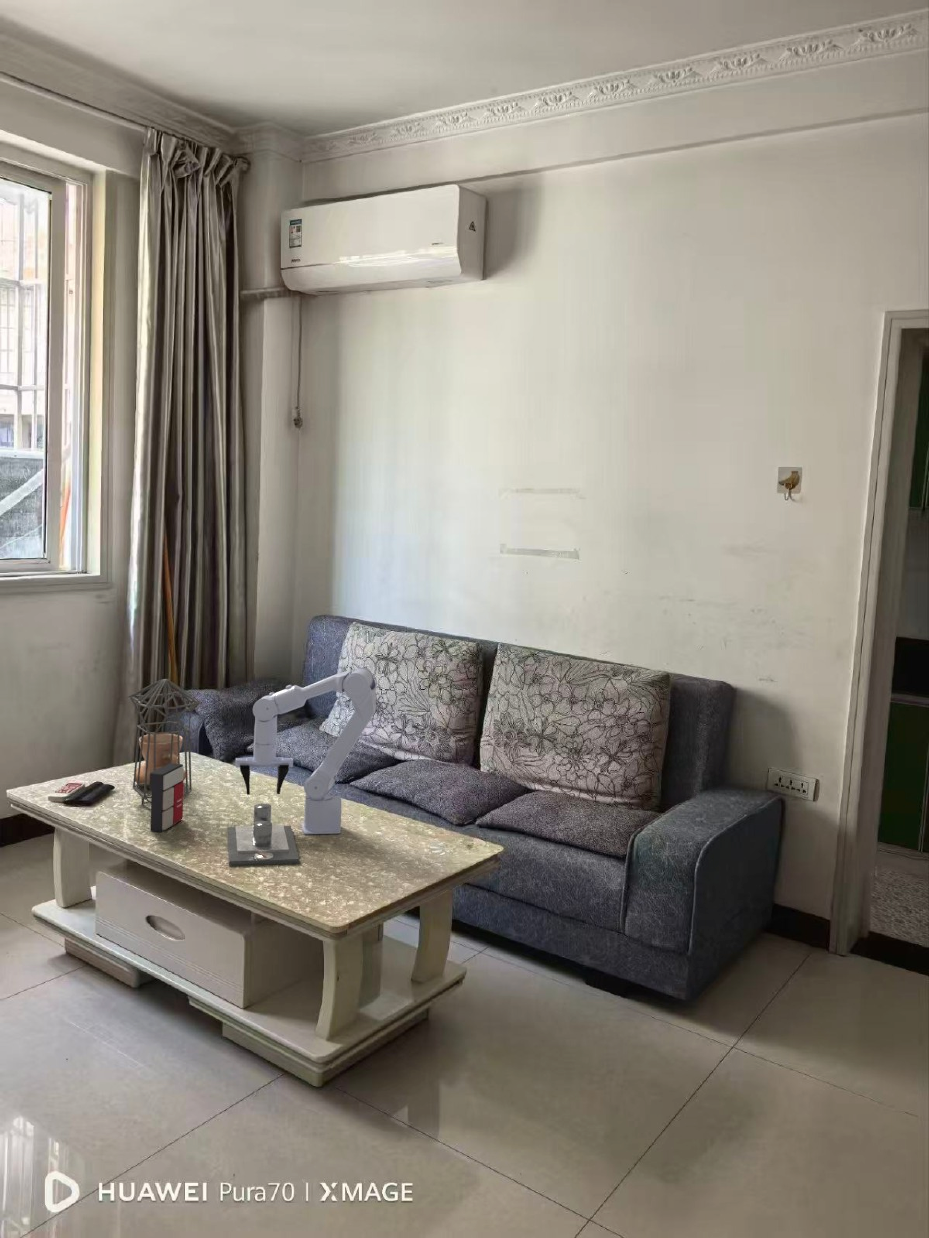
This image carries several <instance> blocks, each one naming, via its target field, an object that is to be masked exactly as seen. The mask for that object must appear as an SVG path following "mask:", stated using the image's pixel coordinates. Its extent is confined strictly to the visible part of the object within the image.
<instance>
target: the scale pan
mask: <svg viewBox="0 0 929 1238" xmlns="http://www.w3.org/2000/svg"><path fill="white" fill-rule="evenodd" d="M284 826H285V825H284V824H272V840H271V845H270V846H266V847H257V846H254V845H253V827H254V825H235V826H234V827H235V829H236V841H237V853H260V852H289V847H288V843H287V839H286V834H285V830H284Z"/></svg>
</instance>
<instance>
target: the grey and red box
mask: <svg viewBox="0 0 929 1238" xmlns="http://www.w3.org/2000/svg"><path fill="white" fill-rule="evenodd" d="M183 770H185V766H184V764H182V763H180V764H176V763H169V764H167V765H165V766H163V767H161V768H159V769H157V770H155V771H153V772H151V773H150V783H149V788H148V789H149V790H150V792H151V793H150V794H151V798H150V801H151V803H150V809H151V810H150V831H151V832H158V833H162V832H164V831H165V830H167V829H169V828H170V827H172V826H173V825H175V824H177V823H179V822H180V821H181V820H183V816H184V815H183V814H184V798H183V793H185V791H184V788H185V787H184V785H185V783H184V781H183Z"/></svg>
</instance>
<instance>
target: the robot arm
mask: <svg viewBox="0 0 929 1238" xmlns="http://www.w3.org/2000/svg"><path fill="white" fill-rule="evenodd" d="M376 691H377V682H376V679H375V677H374V674H373V673H372V671H371V670H370V669H368V668H366V667H357V668H356V669H354V670H353V671H352V669H350V670H345V671H343V672H339V673H336V674H334V675H331V676H329V677H326V678H324V679H321V680H319V681H317V682H315V683H312V684H309V685H306V686H305V687H301V686H299V685H296V684H294V685H292V684H288V685H285V688H284V689H282V690H280V691H279V690H278V691H277V692H274V691H272V692H270V693H269V694H268V695H264V696H262V697H261V698H260V699H258V700H256V701H255V702H254V704H253V707H252V715H253V716H254V719H255V720H254V731H253V732H254V733H253V734H254V735H253V756H249V757H235V768H239V771H240V774H241V775H242V778H243V781H244V783H245V788H246V795H248V796H250V795H251V790H250V789H251V787H250V783H251V782H250V779H251V768H250V767H252V768H253V767H277V783H276V795H280V794H281V789H282V786H283V783H284V780H286V779H285V778H286V777H287V775H288V773H289V771H290V770H289V769H290V768H293V767H294V759H293V757H282V756H277V739H278V738H277V737H278V715H284V714H286V713H289V712H291V711H293V710H297V709H299V708H302V707H304V706H305V704H306V701H307V700H309V699H312V698H315V697H317V696H321V695H324V694H327V693H330V692H337V693H339V694H343V693H345V694H346V695H347V696H348V698H349V699H350V701H351V702H352V706H353V709H354V712H353V713H352V715H351V717H350V718H349V719H348V721H347V722H346V725H345V726H344V727H343V729H342V730H341V732H340V734H339V736H338V737H337V739H336V740H335V742H334V743H333V745H332V746H331V748H330V750H329V751H328V753H327V755H326V756H325V757H324V759H323V760H322V762H321V764H320V766H318V767H317V768H315V770H314V771H313V772H312V774H311V775H310V776H309V777H307V779H305V782H304V784H303V790H304V792H305V795H304V797H305V798H304V819H303V822H301V823H300V826H301V829H302V833H303V834H304V835H325V834H326V835H327V834H329V835H330V834H332V835H333V834H334V835H335V834H341V833H342V832H341V827H342V797H341V796H340V795H335V794H334V792H333V790H332V788H333V787H334V785H335V783H336V776H337V774H338V772H339V771H340V768H341V767H342V765H343V763H344V762H345V760H346V759H347V757H348V755H349V754H350V753H351V751H352V749H353V748H354V746H355V744H356V742H358V741H359V738H360V736H361V735H362V734H363V732H364V730H365V729H366V727H367V726H368V724H369V722H370V721H371V720H372V718H373V716H374V715H375V712H376V711H377V702H376V700H377V697H376V696H377V695H376V694H377V693H376Z"/></svg>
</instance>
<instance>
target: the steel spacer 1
mask: <svg viewBox="0 0 929 1238" xmlns="http://www.w3.org/2000/svg"><path fill="white" fill-rule="evenodd" d="M253 806H254V807H253V824H254V823H255V822H257V821H269V822H271V823H272V821H271V820H272V805H271V804H269V803H257V804H254V805H253Z"/></svg>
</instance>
